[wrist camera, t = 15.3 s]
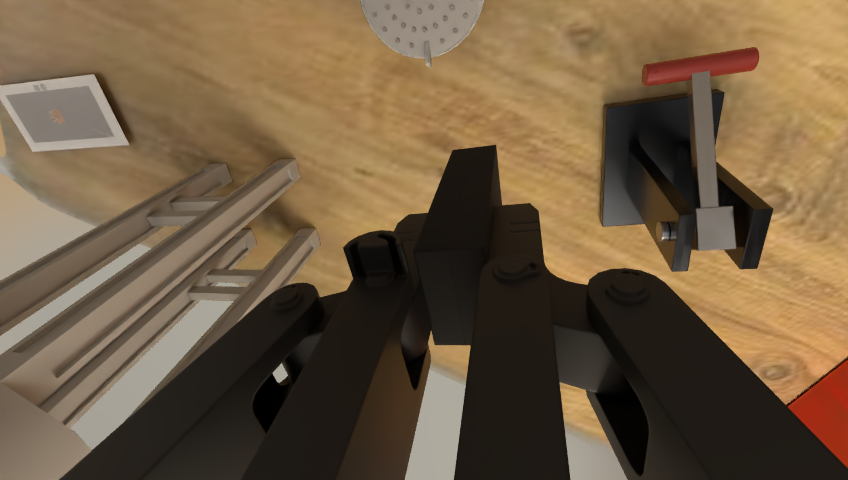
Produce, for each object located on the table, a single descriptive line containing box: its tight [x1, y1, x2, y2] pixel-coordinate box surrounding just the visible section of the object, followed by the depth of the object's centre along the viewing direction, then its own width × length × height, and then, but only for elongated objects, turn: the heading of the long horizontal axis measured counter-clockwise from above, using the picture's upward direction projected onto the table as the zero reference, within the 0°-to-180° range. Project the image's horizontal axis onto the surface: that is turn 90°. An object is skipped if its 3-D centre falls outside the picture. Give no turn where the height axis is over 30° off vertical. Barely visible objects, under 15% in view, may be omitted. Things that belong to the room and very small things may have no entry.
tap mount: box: [600, 89, 773, 272], centre depth 32 cm, size 12×9×15 cm
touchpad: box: [0, 74, 129, 152], centre depth 47 cm, size 8×15×2 cm, turn 97°
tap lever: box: [642, 47, 759, 251], centre depth 27 cm, size 13×6×2 cm, turn 12°
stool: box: [0, 159, 321, 480], centre depth 35 cm, size 16×16×35 cm
